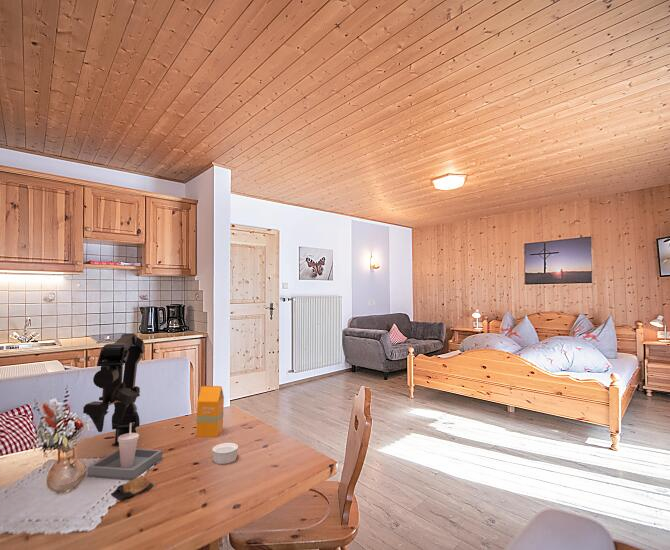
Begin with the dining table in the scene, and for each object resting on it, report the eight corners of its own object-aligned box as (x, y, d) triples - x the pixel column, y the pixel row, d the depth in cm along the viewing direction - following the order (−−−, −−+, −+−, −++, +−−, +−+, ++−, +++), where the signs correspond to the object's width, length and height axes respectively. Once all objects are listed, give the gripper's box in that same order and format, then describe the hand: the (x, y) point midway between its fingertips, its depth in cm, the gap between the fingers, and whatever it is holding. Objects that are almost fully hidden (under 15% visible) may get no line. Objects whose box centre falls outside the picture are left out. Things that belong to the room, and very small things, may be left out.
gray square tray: (87, 476, 117) (88, 466, 117) (121, 456, 132) (122, 447, 132) (132, 480, 115) (132, 470, 115) (161, 459, 130) (162, 450, 130)
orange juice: (216, 437, 151) (218, 388, 153) (195, 437, 151) (197, 388, 153) (222, 430, 159) (224, 384, 161) (202, 430, 159) (204, 383, 161)
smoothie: (127, 470, 120) (130, 426, 121) (111, 468, 121) (113, 425, 122) (142, 462, 126) (144, 420, 127) (126, 460, 127) (128, 419, 128)
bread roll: (142, 481, 115) (142, 469, 116) (158, 488, 111) (159, 475, 111) (107, 496, 106) (108, 483, 106) (124, 504, 102) (124, 491, 102)
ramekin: (207, 459, 130) (207, 447, 131) (229, 452, 137) (229, 440, 137) (220, 467, 124) (220, 454, 125) (242, 459, 131) (242, 447, 131)
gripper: (115, 388, 116) (112, 438, 115) (150, 376, 135) (148, 419, 134) (83, 387, 117) (80, 436, 116) (122, 375, 136) (120, 417, 135)
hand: (110, 427), depth 125 cm, fingers open, 9 cm apart
